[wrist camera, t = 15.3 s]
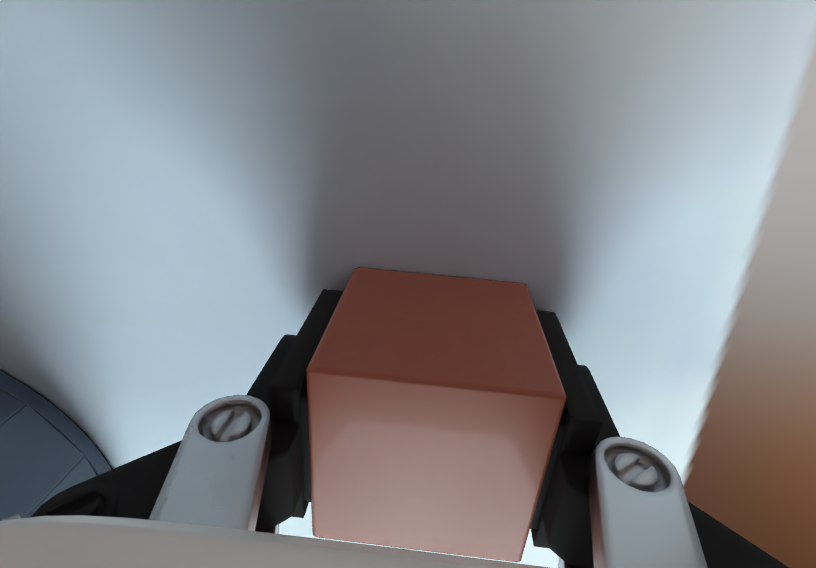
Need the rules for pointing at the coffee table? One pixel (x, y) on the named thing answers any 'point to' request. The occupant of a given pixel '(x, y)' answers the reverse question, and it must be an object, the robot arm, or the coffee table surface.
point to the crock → (39, 450)
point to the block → (431, 414)
